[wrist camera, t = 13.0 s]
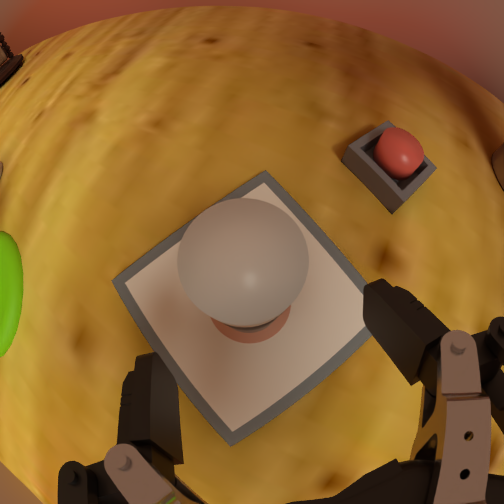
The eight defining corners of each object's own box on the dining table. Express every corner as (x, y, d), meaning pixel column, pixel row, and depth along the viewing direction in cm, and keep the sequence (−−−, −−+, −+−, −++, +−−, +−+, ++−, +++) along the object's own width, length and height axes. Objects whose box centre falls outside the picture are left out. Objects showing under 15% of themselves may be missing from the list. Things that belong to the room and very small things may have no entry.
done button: (388, 137, 24) (397, 121, 21) (419, 167, 23) (431, 153, 20) (364, 154, 23) (373, 137, 20) (397, 188, 22) (409, 173, 19)
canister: (254, 260, 21) (253, 177, 10) (292, 307, 19) (335, 267, 9) (206, 296, 20) (154, 246, 9) (243, 345, 19) (229, 352, 8)
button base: (380, 135, 26) (388, 120, 23) (425, 180, 24) (436, 168, 22) (341, 161, 25) (348, 145, 22) (391, 214, 23) (403, 202, 21)
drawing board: (265, 175, 24) (265, 168, 23) (387, 315, 20) (393, 313, 19) (115, 282, 21) (110, 279, 20) (231, 443, 17) (230, 448, 16)
